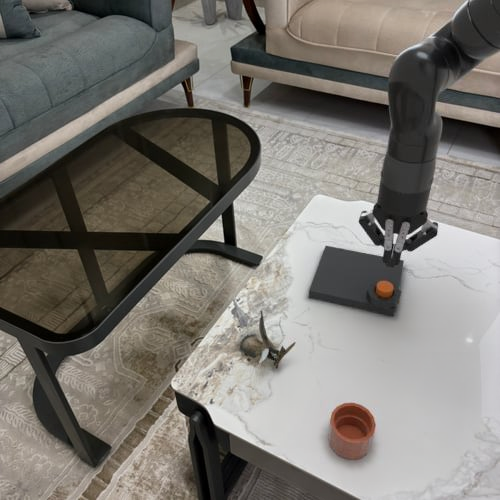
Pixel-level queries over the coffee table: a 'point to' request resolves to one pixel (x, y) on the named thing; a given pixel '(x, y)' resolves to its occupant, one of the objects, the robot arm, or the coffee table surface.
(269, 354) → the eagle figurine
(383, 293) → the button
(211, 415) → the coffee table surface
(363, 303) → the scale
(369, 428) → the brown cup
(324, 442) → the coffee table surface
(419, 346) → the coffee table surface
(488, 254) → the coffee table surface
